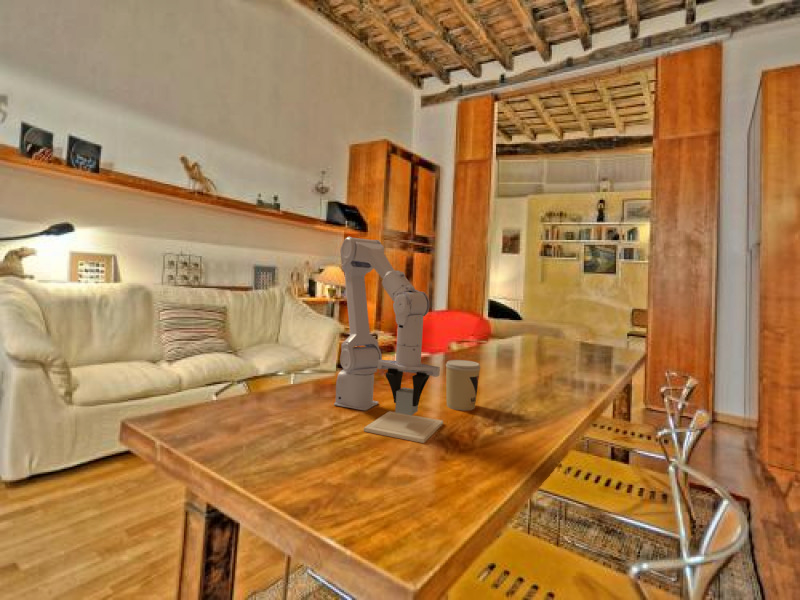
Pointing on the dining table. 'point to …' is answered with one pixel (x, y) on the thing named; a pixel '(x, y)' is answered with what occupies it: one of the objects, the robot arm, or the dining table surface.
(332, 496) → the dining table surface
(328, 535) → the dining table surface
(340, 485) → the dining table surface
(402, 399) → the block
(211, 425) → the dining table surface
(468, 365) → the coffee cup
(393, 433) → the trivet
